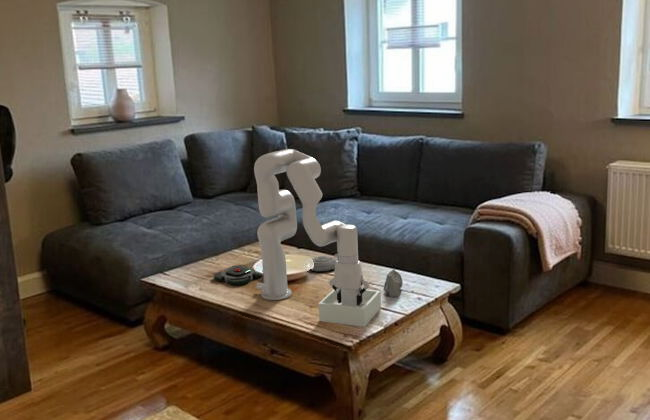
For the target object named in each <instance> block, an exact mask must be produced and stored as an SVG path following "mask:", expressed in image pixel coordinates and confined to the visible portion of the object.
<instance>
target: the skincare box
mask: <svg viewBox="0 0 650 420" xmlns="http://www.w3.org/2000/svg"><path fill="white" fill-rule="evenodd" d="M357 295H358V294H357V292H356V290H352V289H343V288H341V303H342V305H346V306H354V307H358V306H357V297H356V296H357Z"/></svg>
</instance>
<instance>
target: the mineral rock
mask: <svg viewBox="0 0 650 420" xmlns="http://www.w3.org/2000/svg"><path fill="white" fill-rule="evenodd" d="M401 288H403V279H402V275H401V274H400V273H399V272H398V271H396V270H395V269H394V268H392V270H391V271H390V272H389V273H387V274H386V278H385V282H384V285H383V291H384V295H385V296H386V297H391V298H394V297H399V296H400V295H401V294H400V293H401V291H400V290H401Z"/></svg>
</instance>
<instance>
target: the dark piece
mask: <svg viewBox="0 0 650 420" xmlns="http://www.w3.org/2000/svg"><path fill="white" fill-rule="evenodd" d="M254 268H255V267H254ZM254 268H253V267H252V266H248V265H245V264H244V265H243V264H239V265H237V264H236V265H232V266H229V267H227V268H224V269H223V271H222V270H220V271H217V272H215V273H213V280H214V281H218V282H224V283H226V284H230V285H233V286H234V285H235V286H237V285H244V284H247V283H248V282H251V281H252V280H253V279H254V278H255V279H257V278H259V277H261V276H260V275H259V274H258V273H256V272H255V270H254Z"/></svg>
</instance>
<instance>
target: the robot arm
mask: <svg viewBox="0 0 650 420" xmlns="http://www.w3.org/2000/svg"><path fill="white" fill-rule="evenodd" d="M321 171H322V169H321V165H320V163H319V162H318V161H317V159H315V158H314V157H312V156H310V155H308V154H305V153H303V152H300V151H298V150H296V149H294V148H293V149H292V148H286V149H281V150H278V151H272V152H267V153H266V154H263V155H260V157H258V158H257V159H256V161H255V162H254V167H253V172H254V177H255V181H256V185H257V187H256V188H257V201H258V209H259V214H260V215H261V217H263V218H266V219H270V220H266V221H265V222H263V223H261V224H260V225H259V226H258V228H257V233H256V234H257V239H258V242H259V245H260V252H261V263H262V272H263V275H262V276H263V282H257V283H256V290H261V292H260V297H261V298H262V299H263V300H267V301H280V300H281V301H282V300H285V299H288V298H289V297H291V296H292V293H293V292H292V290H291V288H289V287H288V277H287V275H288V273H287V261H286V260H287V258H286V251H285V249H284V246H282V244H281V242H282V241H285V240H288V239H290V238H292V237H294V236H295V235H296V233H297V229H298V222H297V221H298V220H297V209H296V201H295V197H294V195H293V194H292V193H291V192H290V191H289V190H287V189H280V185H279V181H278V179H277V177H276V175H278V174H281V173H285V172H286V176H287V178H288V180H289V182H290V183H291V185H292V187H293V189H294V191H295V193H296V195H297V197H298V198H299V200H300V202H301V204H302V209H301V210H302V211H301V219H302V225H303V227H304V230H305V232H306V234H307V235H308V237H309V239H310V240H311V242H312V243H313V244H314V245H315V246H318V247H325V246H328V245H330V244H333V243H335V242H336V247H337V253H335V254H334V255H333V257H334V259H335V258H336V259H337V260H336V264H335V268H334V275H333V278H332V279H330V280H329V281H328V284H329V285H330V286H331V288H332V290H333V289H334V290H335V292H336V293H337V300H338V303H341V288H343V289H352V290H356V292H357V294H358V295H357V296H356V297H357V306H359V305H360V304H361V303H362V294H363V293H364V292H365V291H366V290H368V289H369V288H370V286H371V285H370V283H369V282H367V281H366V280H365V279H364V277H363V270H362V266H361V262H360V261H361V260H359V249H358V248H359V247H358V246H359V245H358V244H359V243H358V228H357V226H356V225H354V224H350V223H349V224H348V223H347V224H345V223H343V222H341V221H339V220H331V221H329V222H326V223H323V224H321V222H320V221H319V219H318V217H317V206H318V205H319V202H320V201H321V200H322V197H323V192H322V190H321V188H320V186H319V185H318V183H317V181H316V179H317V178H319V177H320V176H321ZM271 218H272V219H271ZM362 286H364V287H363V288H362Z"/></svg>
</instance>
